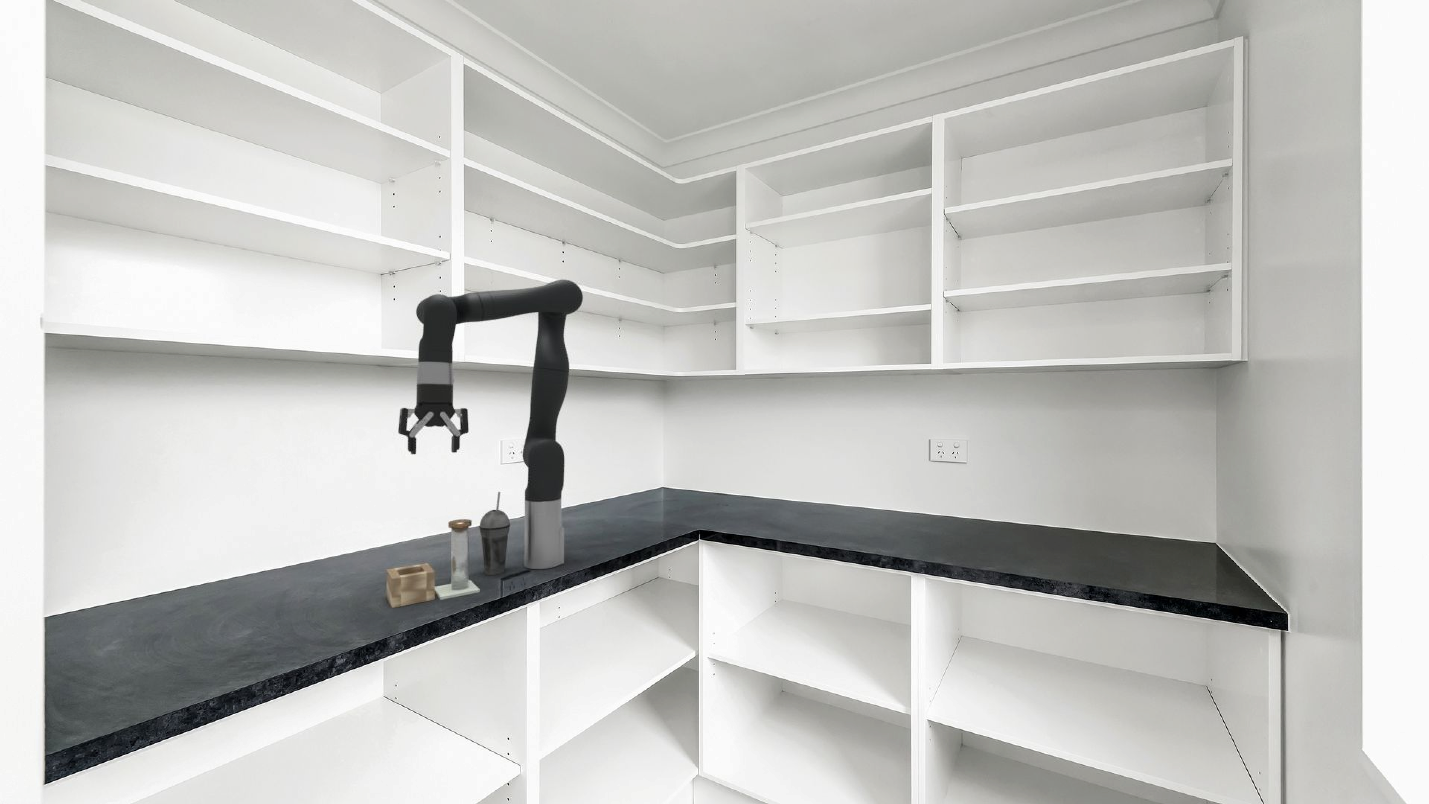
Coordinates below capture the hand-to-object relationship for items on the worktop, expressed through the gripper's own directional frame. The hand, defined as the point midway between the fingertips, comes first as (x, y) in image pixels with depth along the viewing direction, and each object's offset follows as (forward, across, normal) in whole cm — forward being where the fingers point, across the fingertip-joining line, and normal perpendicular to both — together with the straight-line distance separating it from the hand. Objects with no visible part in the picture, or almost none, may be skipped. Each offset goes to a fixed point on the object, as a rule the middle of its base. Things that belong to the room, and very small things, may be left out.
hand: (434, 453), depth 127 cm
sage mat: (+31, -4, +6) cm, 32 cm away
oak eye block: (+31, +5, +4) cm, 32 cm away
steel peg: (+30, -5, +6) cm, 31 cm away
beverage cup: (+31, -15, -3) cm, 34 cm away
